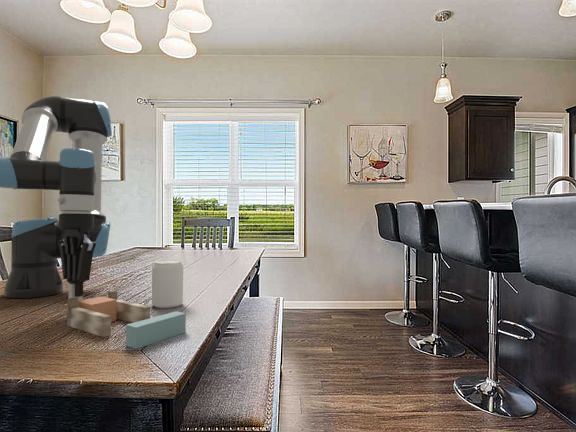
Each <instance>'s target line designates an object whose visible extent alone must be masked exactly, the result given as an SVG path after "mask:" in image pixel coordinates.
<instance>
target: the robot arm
mask: <svg viewBox="0 0 576 432" xmlns="http://www.w3.org/2000/svg"><path fill="white" fill-rule="evenodd" d="M21 123H22V126H21V129H20V131H19V134H18V137H17V138H16V142H15V143H14V144H15V145H14V147H13V149H12V151H11V153H10V156H9V157H6V156H5V157H0V188H3V189H13V190H44V191H45V190H46V191H58V192H59V193H58V197H59V198H57V202H58V203H59V204H58V210H59V211H60V212H61V213H59V214H58V217H57V216H55V217H54V216H53V217H46V218H43V217H42V218H34V219H26V220H25V219H24V220H18V221H15V222H13V224H12V227H11V228H12V229H11V235H10V238H11V259H10V261H11V266H10V267H11V268H10V272H9V275H8V276H7V277H8V278H7V280H6V282H5V285H4V288H3V297H4V298H8V299H29V298H30V299H31V298H40V297H48V296H53V295H56V294H59V293H63V291H64V282H63V279H64V280H66V281H67V283H68V298H74V297H75V298H78V301H80V300H84V283H86V282H87V281H89V280H90V277H91V270H92V266H93V265H92V264H93V258H97V257H99V258H100V257H103V256H105V254H106V253H107V249H108V244H109V237H110V229H111V224H112V223H111V222H110V221H108V220H107V216H106V215H105V213H103V212H102V169H103V168H102V166H103V162H102V161H103V157H102V155H103V154H102V153H103V145H104V144H105V143H107V141H108V138H110V137H112V126H111V115H110V109H109V107H108V105H107V103H105V102H102V101H96V100H93V99H92V100H89V99H80V98H74V97H73V98H72V97H64V96H59V95H55V96H53V95H52V96H47V97H43V98H39V99H37V100H36V101H34V102H32V103H30V104H29V105H28V106H27V107H26V108H25V110H24V111H23V113H22V116H21ZM56 132H57V133H59V132H60V133H65V134H66V133H68V139H70V141H71V142H73V143H72V144H73V146H72V148H63V149H61V150H60V152H59V159H58V161H53V160H46V158H47V154H48V150H49V147H50V144H51V143H50V142H51V140H52V135H54V134H55V133H56ZM58 259H60V262H61V268H62V269H61V270H62V277H61V274H60V271H59V269H58ZM62 278H63V279H62Z"/></svg>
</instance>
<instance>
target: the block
mask: <svg viewBox="0 0 576 432" xmlns="http://www.w3.org/2000/svg"><path fill="white" fill-rule="evenodd" d="M78 307H79V308H83V309H87V310H91V311H95V312H98V313H102V314H106V315H110V316H111V323H112V322H115V321H117V318H116V299H111V298H108V296H97V297H92V298H86V299H83V300H80V301H78Z"/></svg>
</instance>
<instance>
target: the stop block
mask: <svg viewBox="0 0 576 432" xmlns="http://www.w3.org/2000/svg"><path fill="white" fill-rule="evenodd" d="M186 320H187V314H186V313H185V312H181V311H178V310H177V311H176V310H175V311H172V312H168V313H165V314H160V315H157V316H153V317H150V318H149V319H146V320H142V321H138V322H135V323H132V322H130V323H128V324H126V325H125V347H127V348H128V347H129V348H132V349H134V350H137V349H140V348H144V347H146V346H148V345H153V344H154V343H158V342H161V341H164V340H167V339H169V338H173V337H175V336H179V335H181V334H184V333H186V330H187V329H186V323H187V322H186Z"/></svg>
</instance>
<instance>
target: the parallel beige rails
mask: <svg viewBox="0 0 576 432" xmlns="http://www.w3.org/2000/svg"><path fill="white" fill-rule="evenodd" d="M107 298H111V299H116V320H117V319H118V320H122V321H125V322H129V323H135V322H138V321H142V320H146V319H149V318H151V306H149V305H145V304H140V303H136V302H132V301H131V302H130V301H127V300H123V299H118V290H114V289H113V290H108V291H107ZM66 318H67V321H66V322H67V327H71V328H74V329H77V330H81V331H82V332H86V333H89V334H93V335H96V336H99V337H101V338H107V337H110V336H111V335H112V322H111V316H110V315H106V314H102V313H98V312H95V311H91V310H87V309H83V308H79V307H78V298H75V297H74V298H69V297H68V298H67V317H66Z"/></svg>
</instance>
